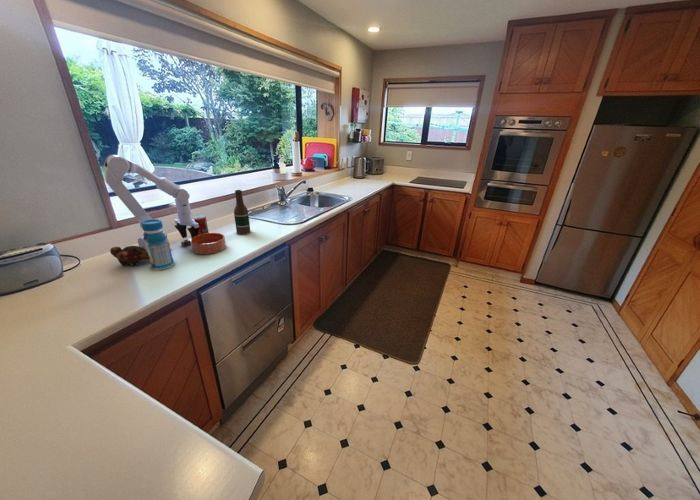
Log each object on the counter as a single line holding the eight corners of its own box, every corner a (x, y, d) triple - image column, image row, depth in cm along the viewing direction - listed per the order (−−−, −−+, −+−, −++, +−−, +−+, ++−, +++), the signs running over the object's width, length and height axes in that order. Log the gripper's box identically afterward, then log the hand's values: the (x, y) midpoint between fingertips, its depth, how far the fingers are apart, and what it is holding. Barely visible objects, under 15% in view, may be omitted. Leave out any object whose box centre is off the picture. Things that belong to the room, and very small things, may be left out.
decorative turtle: (118, 259, 124) (114, 242, 121) (157, 259, 128) (155, 242, 125) (106, 269, 115) (102, 250, 112) (149, 268, 119) (146, 250, 116)
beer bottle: (253, 230, 162) (248, 189, 153) (247, 235, 155) (242, 192, 145) (240, 229, 163) (234, 188, 153) (233, 234, 156) (227, 191, 146)
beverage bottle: (163, 271, 115) (151, 225, 107) (146, 269, 117) (132, 223, 109) (179, 262, 123) (168, 219, 115) (162, 260, 124) (151, 217, 116)
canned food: (204, 238, 149) (201, 218, 145) (190, 237, 149) (185, 218, 145) (211, 233, 156) (208, 214, 152) (197, 232, 156) (193, 213, 152)
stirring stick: (184, 247, 138) (183, 242, 137) (181, 246, 139) (180, 241, 138) (200, 241, 146) (199, 236, 145) (197, 240, 147) (196, 235, 146)
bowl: (207, 257, 129) (205, 246, 126) (185, 251, 134) (182, 240, 132) (232, 246, 141) (231, 236, 139) (211, 240, 147) (209, 230, 144)
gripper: (202, 213, 136) (206, 238, 142) (181, 208, 142) (187, 233, 147) (189, 216, 131) (194, 243, 136) (168, 212, 136) (174, 238, 141)
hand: (189, 238), depth 141 cm, fingers open, 7 cm apart
